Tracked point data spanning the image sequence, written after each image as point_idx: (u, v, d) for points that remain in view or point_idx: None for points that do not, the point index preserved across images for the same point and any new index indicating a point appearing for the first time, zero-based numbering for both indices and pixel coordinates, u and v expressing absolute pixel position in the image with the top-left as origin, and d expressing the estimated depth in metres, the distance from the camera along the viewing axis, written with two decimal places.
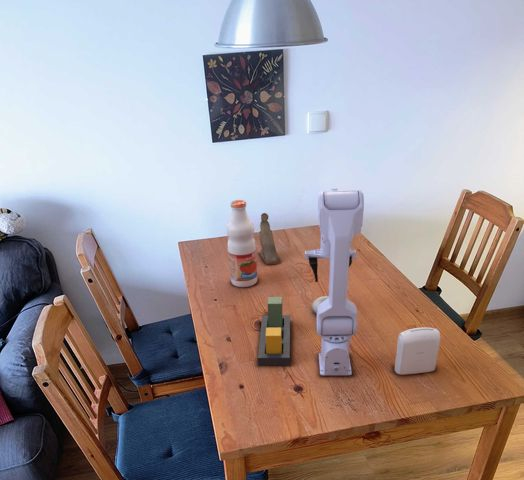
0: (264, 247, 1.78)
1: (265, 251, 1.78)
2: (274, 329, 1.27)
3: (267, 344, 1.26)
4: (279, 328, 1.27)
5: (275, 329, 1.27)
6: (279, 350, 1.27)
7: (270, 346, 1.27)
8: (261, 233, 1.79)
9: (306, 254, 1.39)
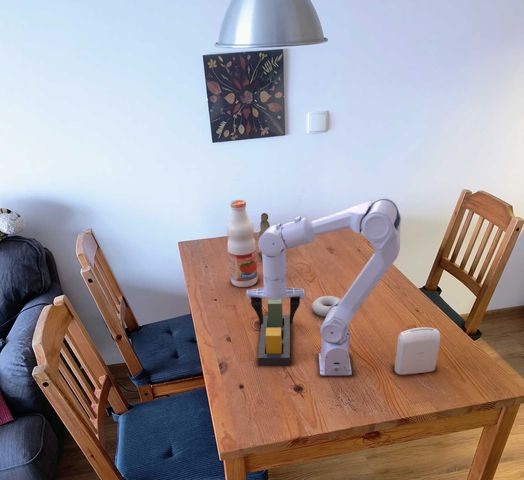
0: None
1: None
2: (274, 329, 1.27)
3: (267, 344, 1.26)
4: (279, 328, 1.27)
5: (275, 329, 1.27)
6: (279, 350, 1.27)
7: (270, 346, 1.27)
8: (261, 233, 1.79)
9: (247, 294, 1.21)
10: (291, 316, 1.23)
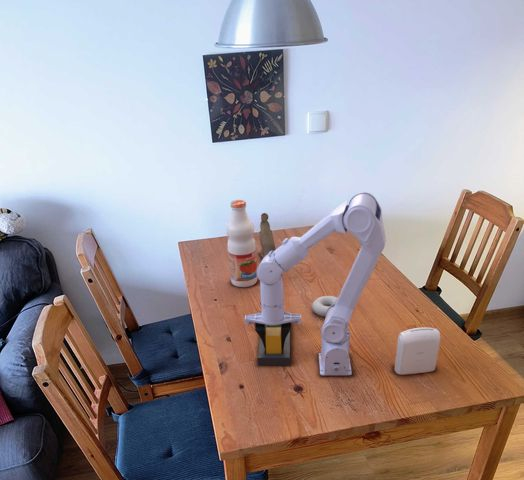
0: (264, 247, 1.78)
1: (265, 251, 1.78)
2: (274, 329, 1.27)
3: (267, 344, 1.26)
4: (279, 328, 1.27)
5: (275, 329, 1.27)
6: (279, 350, 1.27)
7: (269, 346, 1.27)
8: (261, 233, 1.79)
9: (246, 319, 1.24)
10: (282, 340, 1.26)
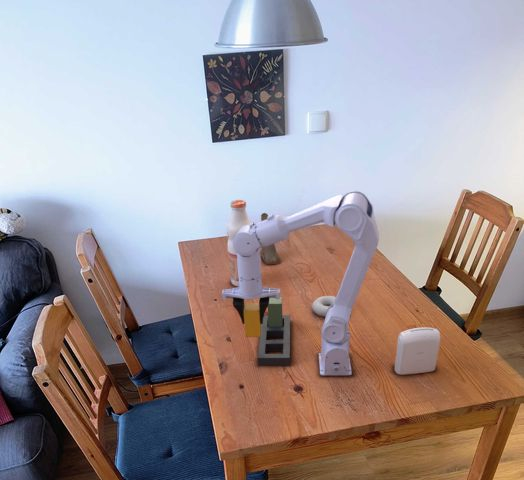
0: (264, 247, 1.78)
1: (265, 251, 1.78)
2: (253, 304, 1.24)
3: (245, 320, 1.23)
4: (258, 303, 1.24)
5: (254, 304, 1.24)
6: (258, 326, 1.24)
7: (248, 322, 1.24)
8: None
9: (223, 294, 1.21)
10: (261, 316, 1.23)
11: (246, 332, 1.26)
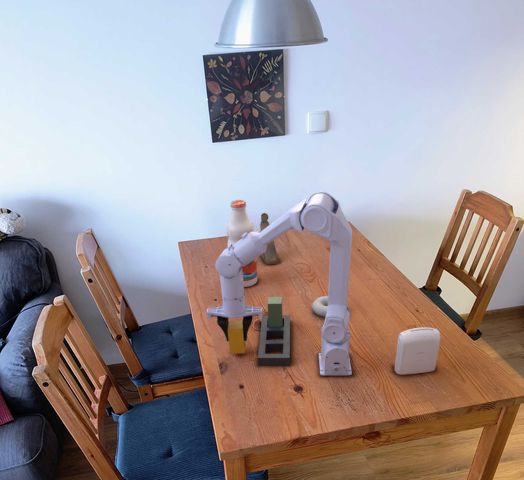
0: None
1: None
2: (237, 322, 1.28)
3: (229, 337, 1.28)
4: None
5: (238, 322, 1.28)
6: (242, 343, 1.29)
7: (232, 339, 1.28)
8: None
9: (207, 312, 1.25)
10: (245, 333, 1.27)
11: (230, 349, 1.30)
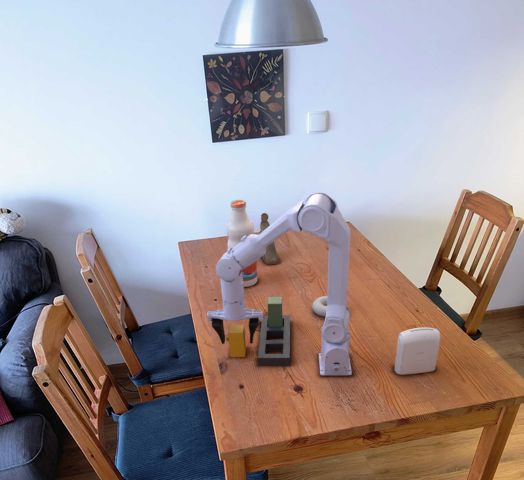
0: None
1: None
2: (237, 326, 1.29)
3: (230, 341, 1.28)
4: (242, 325, 1.29)
5: (238, 326, 1.29)
6: (242, 347, 1.29)
7: (232, 343, 1.29)
8: None
9: (208, 315, 1.25)
10: (251, 336, 1.28)
11: (231, 353, 1.31)
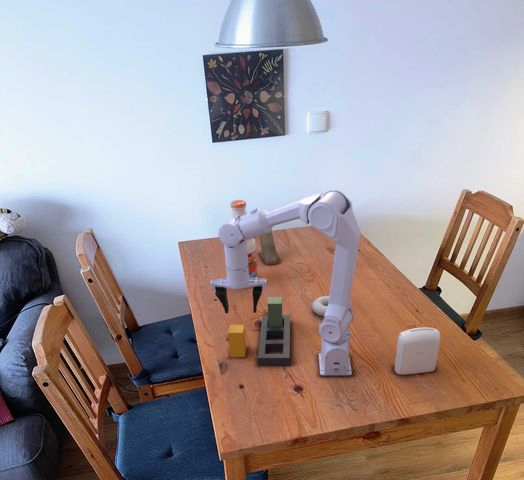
0: (264, 247, 1.78)
1: (265, 251, 1.78)
2: (237, 326, 1.29)
3: (230, 341, 1.28)
4: (242, 325, 1.29)
5: (238, 326, 1.29)
6: (242, 347, 1.29)
7: (232, 343, 1.29)
8: None
9: (212, 284, 1.26)
10: (254, 305, 1.28)
11: (231, 353, 1.31)
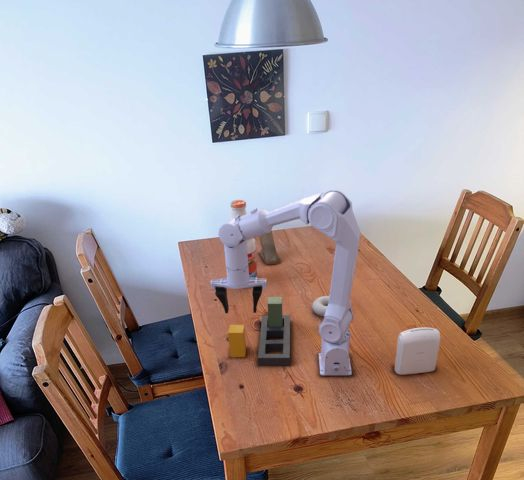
0: (264, 247, 1.78)
1: (265, 251, 1.78)
2: (237, 326, 1.29)
3: (230, 341, 1.28)
4: (242, 325, 1.29)
5: (238, 326, 1.29)
6: (242, 347, 1.29)
7: (232, 343, 1.29)
8: None
9: (212, 284, 1.26)
10: (254, 305, 1.28)
11: (231, 353, 1.31)
